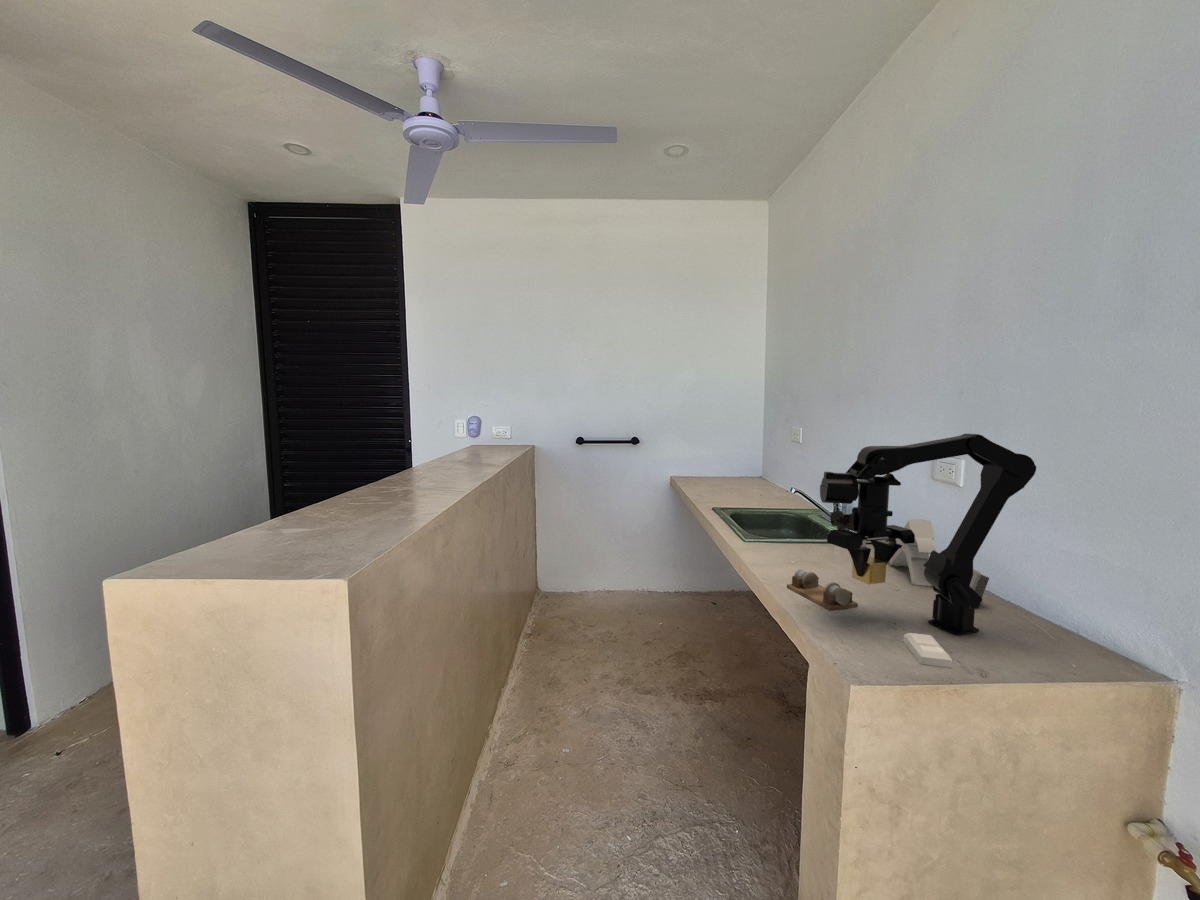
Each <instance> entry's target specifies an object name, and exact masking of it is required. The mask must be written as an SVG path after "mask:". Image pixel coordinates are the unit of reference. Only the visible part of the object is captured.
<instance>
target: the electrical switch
mask: <svg viewBox="0 0 1200 900" xmlns="http://www.w3.org/2000/svg"><path fill="white" fill-rule="evenodd" d="M989 580H990V577H988V576H986V575H984V574H982V572H981V571H980V570H977V569H975V568H973V577H972V580H971V583H970V587H971V588H972V589H973V590H974V591H975V592H976V593H977V594H978V595H979V596H980V597H981V598H982V599H983V596H984V593H985V591H986V588H987V585H988V582H989Z"/></svg>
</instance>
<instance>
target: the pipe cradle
mask: <svg viewBox="0 0 1200 900" xmlns="http://www.w3.org/2000/svg"><path fill="white" fill-rule="evenodd" d="M819 580H820V579H819V576H818V575H817V574H816V573H815V572H812V571H806V570H803V569H797V570H796V571H795V574H794V575H792V577H791V583H790V584H789V583H788V584H786V588H787V589H788V590H791V591H792V592H794V593H796V594H798V595H801V596H803V598H805V599H807V600H810V601H811V602H813V603H815V604H817V605H819V606H821V607H823V608H824V609H826V610H827V611H836V610H837V611H838V610H844V609H851V608H856V607H857V608H858V602H856V601H854V600H853V592H852V591H850V590H848V589H845V588H842V587H841V585H840V584H839V583H837V582H833V581H831V582H829V583H828V584H826V586H825V587H824V586H823V585H820V584H819Z"/></svg>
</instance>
